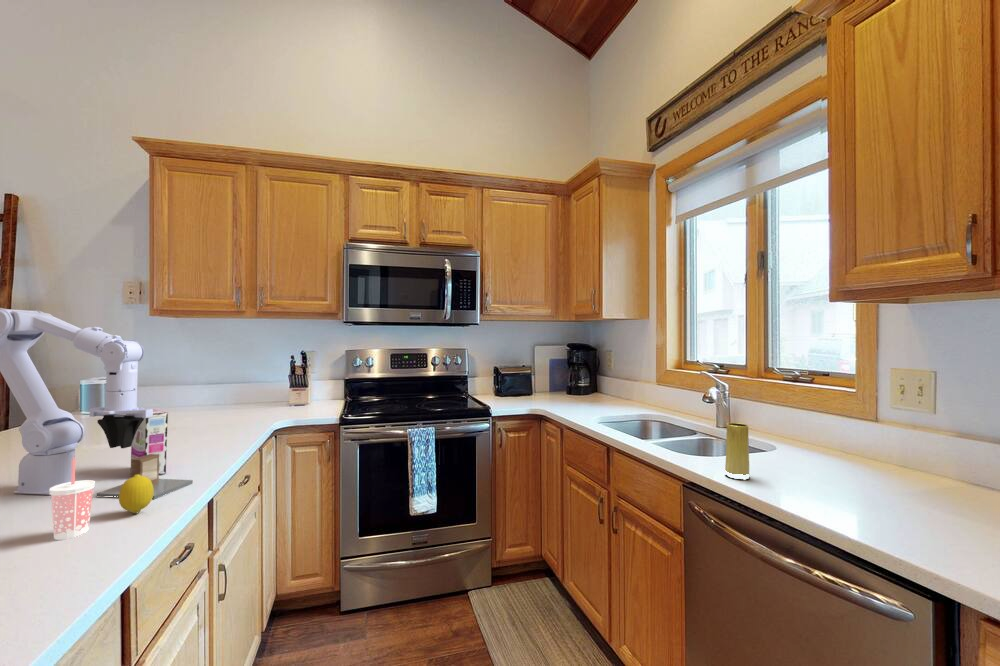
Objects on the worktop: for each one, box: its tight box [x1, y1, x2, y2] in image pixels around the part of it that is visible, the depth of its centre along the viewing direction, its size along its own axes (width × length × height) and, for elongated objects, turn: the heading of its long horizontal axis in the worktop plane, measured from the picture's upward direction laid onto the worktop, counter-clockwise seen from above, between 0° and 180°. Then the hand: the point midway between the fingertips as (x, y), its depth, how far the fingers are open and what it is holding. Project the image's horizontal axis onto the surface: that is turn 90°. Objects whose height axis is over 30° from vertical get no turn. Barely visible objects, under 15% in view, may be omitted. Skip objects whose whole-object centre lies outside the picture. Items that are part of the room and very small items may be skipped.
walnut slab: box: [130, 454, 160, 485], centre depth 104 cm, size 2×5×7 cm, turn 175°
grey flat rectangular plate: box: [96, 478, 194, 500], centre depth 104 cm, size 14×11×1 cm
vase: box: [724, 422, 750, 475], centre depth 119 cm, size 6×6×14 cm
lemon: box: [118, 474, 154, 514], centre depth 91 cm, size 6×6×8 cm
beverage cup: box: [49, 457, 96, 541], centre depth 81 cm, size 6×6×14 cm
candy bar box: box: [130, 408, 169, 476], centre depth 118 cm, size 11×5×16 cm, turn 55°
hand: (120, 447), depth 105 cm, fingers open, 2 cm apart
